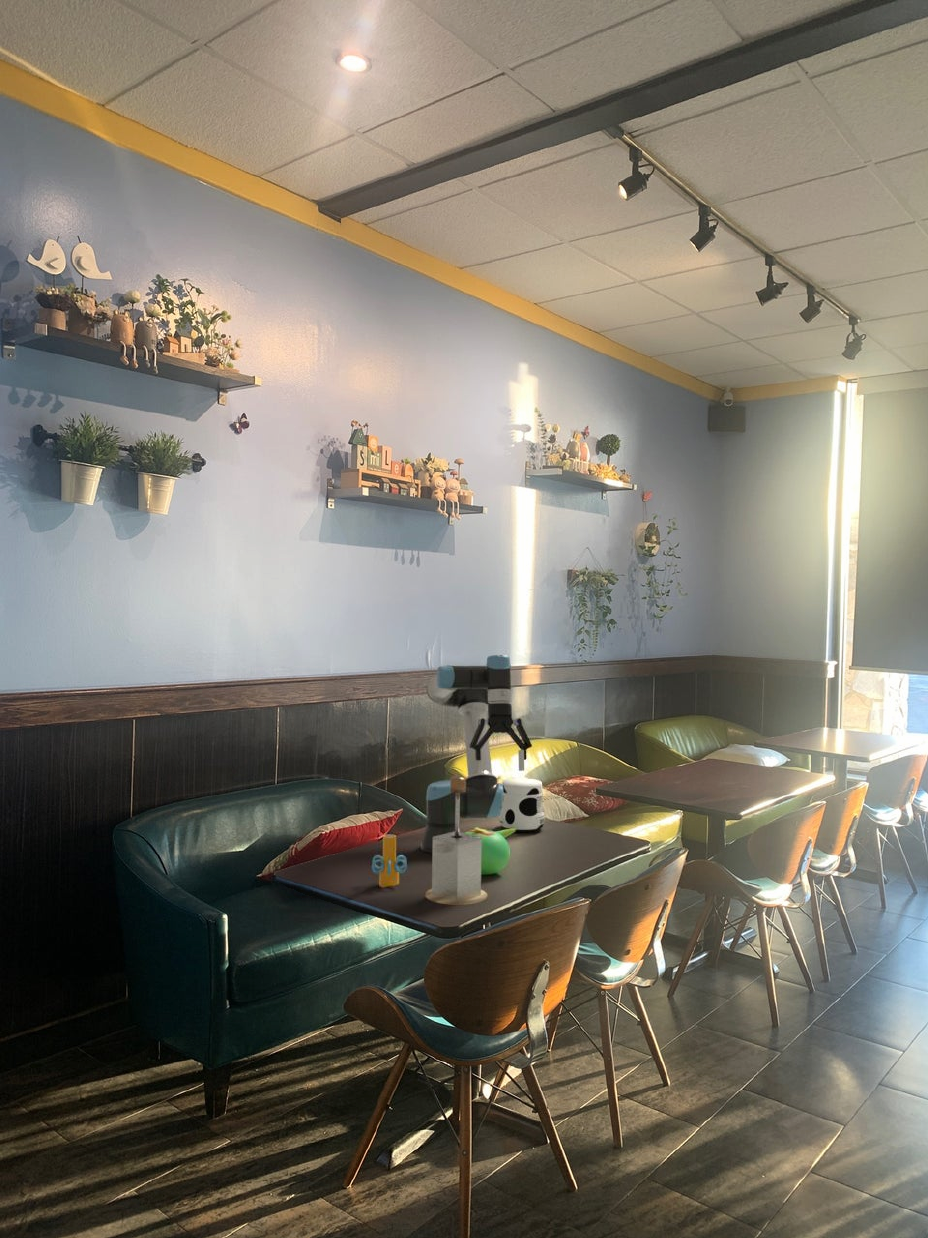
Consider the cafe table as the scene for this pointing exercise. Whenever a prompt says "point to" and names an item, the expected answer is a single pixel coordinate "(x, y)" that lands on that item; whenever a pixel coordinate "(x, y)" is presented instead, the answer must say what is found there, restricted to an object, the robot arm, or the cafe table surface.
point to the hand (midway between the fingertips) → (501, 771)
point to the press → (456, 866)
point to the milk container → (522, 805)
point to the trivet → (464, 902)
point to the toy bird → (493, 849)
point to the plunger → (457, 797)
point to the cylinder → (389, 863)
